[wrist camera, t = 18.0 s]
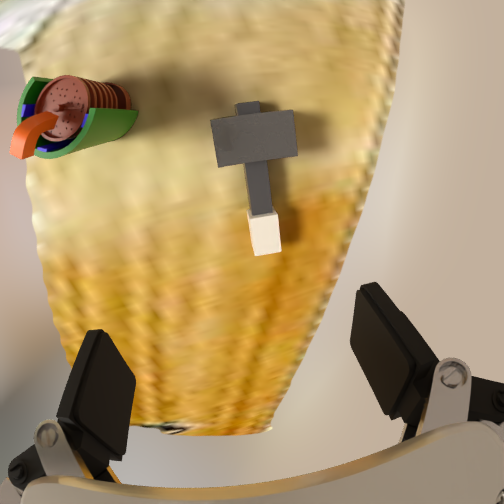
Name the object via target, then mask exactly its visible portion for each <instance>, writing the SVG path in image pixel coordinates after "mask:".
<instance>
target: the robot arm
mask: <svg viewBox="0 0 504 504" xmlns="http://www.w3.org/2000/svg"><path fill="white" fill-rule="evenodd" d="M350 345H351V348H352V350H353V352H354V354H355V356H356V358H357V360H358V362H359V364H360V366H361V368H362V370H363V372H364V374H365V376H366V378H367V380H368V382H369V384H370V386H371V388H372V390H373V392H374V394H375V396H376V398H377V400H378V402H379V405H380V407H381V409H382V411H383V413H384V414H385V415H389V416H390V418H391V420H394V419H396V418H399V417H402V419H403V421H404V423H405V425H404V428H403V431H402V434H401V437H400V440H399V443H398V444H397V445H395V446H392V447H390V448H387V449H385V450H382V451H379V452H377V453H374V454H371V455H369V456H366V457H363V458H360V459H357V460H354V461H351V462H348V463H346V464H342V465H339V466H335V467H332V468H328V469H325V470H321V471H317V472H313V473H309V474H305V475H300V476H296V477H291V478H286V479H281V480H275V481H269V482H262V483H256V484H247V485H238V486H226V487H209V488H165V487H164V488H163V487H148V486H137V485H128V484H122V483H121V482H120V481H119V479H118V478H117V476H116V475H115V474H114V472H113V470H112V469H111V468H110V466H109V460H114V461H122V455H124V454H125V453H126V447H127V438H128V430H129V424H130V417H131V410H132V404H133V398H134V392H135V386H136V379H135V376H134V374H133V373H132V371H131V370H130V368H129V367H128V365H127V364H126V362H125V361H124V359H123V357H122V356H121V354H120V353H119V351H118V349H117V348H116V346H115V344H114V343H113V341H112V339H111V338H110V336H109V335H108V333H105V332H104V331H103V330H102V329H98V330H89V331H88V332H87V333H86V335H85V338H84V340H83V343H82V345H81V347H80V350H79V352H78V355H77V357H76V360H75V363H74V365H73V368H72V370H71V373H70V376H69V379H68V381H67V384H66V387H65V390H64V393H63V396H62V399H61V402H60V405H59V408H58V412H57V415H56V417H57V418H58V421H57V422H56V421H55V420H52V419H50V420H45V421H42V422H41V423H40V424H39V425H38V426H37V428H36V430H35V432H34V443H35V444H34V445H33V446H31V447H30V448H28V449H27V450H26V451H25V452H23V453H22V454H20V455H19V456H17V457H16V458H14V459H13V460H12V461H11V463H10V465H9V468H8V476H9V479H8V478H7V477H6V478H5V480H4V481H3V482H2V484H1V485H0V504H504V383H499V382H494V381H490V380H486V379H482V378H478V377H474V376H471V371H470V369H469V367H468V366H467V365H466V363H465V362H463V361H461V360H460V359H457V358H446V359H443V360H442V361H439V360H438V358H437V357H436V356H435V354H434V353H433V351H432V350H431V348H430V347H429V346H428V344H427V343H426V342H425V340H424V339H423V338H422V336H421V335H420V334H419V332H418V331H417V330H416V328H415V327H414V326H413V324H412V323H411V322H410V321H409V319H408V318H407V317H406V315H405V314H404V313H403V312H402V311H400V310H399V309H398V308H397V307H396V306H395V304H394V303H393V302H392V300H391V299H390V298H389V296H388V295H387V294H386V293H385V292H384V290H383V289H382V288H381V287H380V285H379V284H378V283H376V282H372V283H369V284H364V285H361V287H360V290H357V292H356V299H355V307H354V316H353V323H352V330H351V337H350Z"/></svg>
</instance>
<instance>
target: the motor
mask: <svg viewBox="0 0 504 504" xmlns="http://www.w3.org/2000/svg"><path fill="white" fill-rule="evenodd" d="M137 115H138V111H136V110H131V100H130V96H129V94H128V93H127V91H126V90H125V89H124V88H123V87H121V86H119V85H116V84H113V83H100V82H96V81H92V80H88V79H83V78H79V77H75V76H70V75H64V76H60V77H57V78H55V79H48V78H40V77H32V78H31V79H30V81H29V82H28V84H27V85H26V87H25V89H24V91H23V93H22V96H21V99H20V102H19V106H18V112H17V126H18V127H17V128H16V130H15V132H14V134H13V137H12V142H11V147H10V154H12V155H14V156H16V157H18V158H19V159H25V158H28V157H31V156H34V155H35V156H38V157H40V158H45V159H53V158H58V157H61V156H64V155H67V154H70V153H73V152H76V151H79V150H82V149H85V148H89V147H92V146H96V145H99V144H103V143H106V142H110V141H114V140H116V139H118V138H120V137H122V136H123V135H124V134H125V133H127V132H128V131H129V129H130V128H131V127H132V125H133V124H134V122H135V120H136V118H137Z"/></svg>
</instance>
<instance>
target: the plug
mask: <svg viewBox="0 0 504 504" xmlns="http://www.w3.org/2000/svg"><path fill="white" fill-rule="evenodd" d="M235 111H236V116H240V115H247V114H255V113H261V112H260V105H259V101H254V102H246V103H238V104H235ZM243 165H244V172H245V179H246V186H247V193H248V200H249V206H250V209H248V210H247V215H248V222H249V229H250V235H251V242H252V247H253V250H254V254H255V256H259V255H265V254H270V253H276V252H281V242H280V232H279V222H278V214H277V212H276V211H275V209H274V207H273V206H272V200H271V191H270V183H269V174H268V166H267V160H263V161H256V162H249V163H243Z"/></svg>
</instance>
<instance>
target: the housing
mask: <svg viewBox="0 0 504 504" xmlns="http://www.w3.org/2000/svg"><path fill="white" fill-rule="evenodd" d="M210 121H211V127H212V133H213V139H214V145H215V151H216V157H217V163H218V168H219V167H224V166H230V165H236V164H243V163H249V162H256V161H263V160H270V159H278V158H286V157H294V156H298V153H297V143H296V133H295V124H294V115H293V110H281V111H270V112H264V113H255V114H247V115H240V116H233V117H224V118H218V119H213V120H210Z"/></svg>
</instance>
